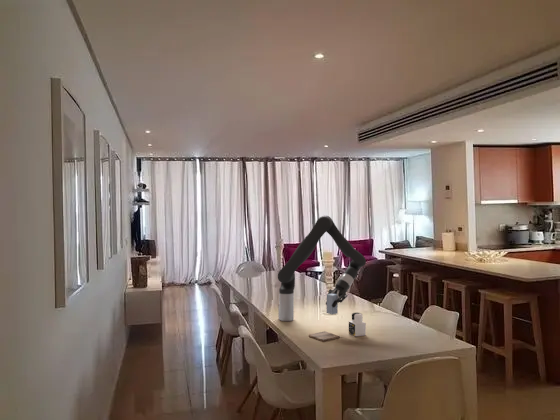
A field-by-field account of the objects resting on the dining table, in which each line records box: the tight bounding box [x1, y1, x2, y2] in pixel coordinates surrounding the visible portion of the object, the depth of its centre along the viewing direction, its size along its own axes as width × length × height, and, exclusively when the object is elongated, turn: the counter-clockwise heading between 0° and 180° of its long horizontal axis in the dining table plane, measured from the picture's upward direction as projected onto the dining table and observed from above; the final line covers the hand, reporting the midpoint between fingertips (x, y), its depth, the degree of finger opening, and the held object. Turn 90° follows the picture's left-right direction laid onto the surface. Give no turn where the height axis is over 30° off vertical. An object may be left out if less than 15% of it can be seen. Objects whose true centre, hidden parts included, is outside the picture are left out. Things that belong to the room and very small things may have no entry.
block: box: [326, 293, 339, 315], centre depth 263 cm, size 4×4×11 cm
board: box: [308, 330, 340, 343], centre depth 251 cm, size 12×12×1 cm
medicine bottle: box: [348, 312, 367, 337], centre depth 257 cm, size 7×7×12 cm
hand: (329, 305), depth 262 cm, fingers closed on block, 4 cm apart
